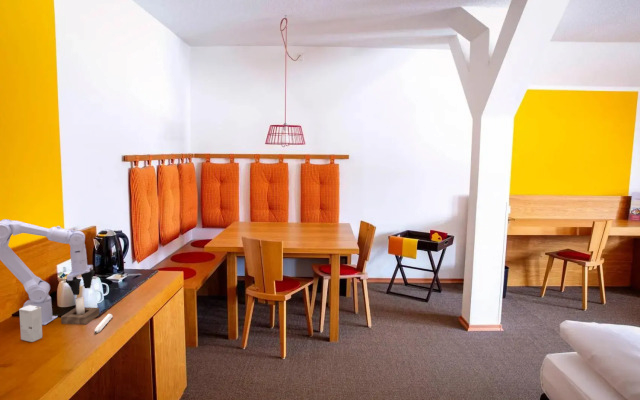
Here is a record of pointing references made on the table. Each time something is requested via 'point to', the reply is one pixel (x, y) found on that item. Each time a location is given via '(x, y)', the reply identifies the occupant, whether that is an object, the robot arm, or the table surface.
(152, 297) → the table surface
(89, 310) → the brown square frame
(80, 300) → the peg
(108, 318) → the marker
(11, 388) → the table surface
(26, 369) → the table surface
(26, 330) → the skincare box
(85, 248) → the robot arm
